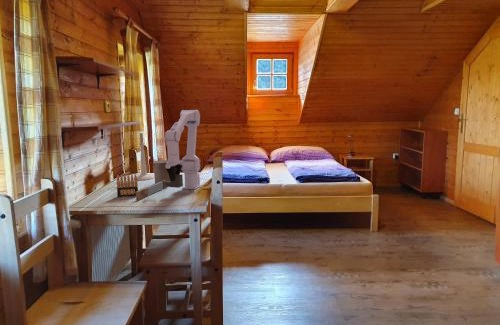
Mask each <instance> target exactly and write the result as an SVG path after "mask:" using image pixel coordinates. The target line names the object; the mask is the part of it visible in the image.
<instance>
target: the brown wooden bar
mask: <svg viewBox="0 0 500 325" xmlns="http://www.w3.org/2000/svg"><path fill="white" fill-rule="evenodd" d="M166 181H167V180H161V182H163V189H162V190H164V189H167V188H168V187H165V182H166ZM147 197H149V195H148V188H147V187H144V188H141V189H138V191H136V196H135V201H139V202H140V201H141V200H143V199H146V198H147Z"/></svg>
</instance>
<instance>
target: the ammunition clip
mask: <svg viewBox="0 0 500 325" xmlns="http://www.w3.org/2000/svg"><path fill="white" fill-rule="evenodd" d="M136 176H137V174H136V173H135V174H134V176H133V173H131V174H130V175H129V174H127V176H126V174H125V173H124V175H123V174H120V175H119V174H117V175H116V194H117V195H116V197H117V198H127V197H128V198H130V197H136V191H139V185H138V184H139V183H138V180H137V177H136Z"/></svg>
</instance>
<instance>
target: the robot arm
mask: <svg viewBox="0 0 500 325" xmlns="http://www.w3.org/2000/svg"><path fill="white" fill-rule="evenodd" d="M179 117H180V118H179V119H178V121H175V122H174V123H173V125H172V126H171V128H170V129H169V130H167V131H165V133H164V141H165V145H166V146H167V147H166V148H167V160H168V162H166V165H165V166H166V170H167V172H168V174H169V177H170V180H171V181H175V174H178V175H181V171H182V172H183V174H184V186H182V187H181V189H186V190H196V189H198V188H200V187H201V186H202V184H201V179H200V178H201V176H200V173H199V171H200V170H201V162H200V160H201V159H200V158H199V157H198V156H197V155H196V149H197V135H198V134H197V130H198V126H200V122H201V114H200V111H199V110H198V109H189V110H187V109H185V110H184V109H181V111H180V113H179ZM185 126H186V127H187V142H186V155H184V156H183V157H182V159H180V148H179V142H180V141H181V136H182V134H183V131H184V129H185Z"/></svg>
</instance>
